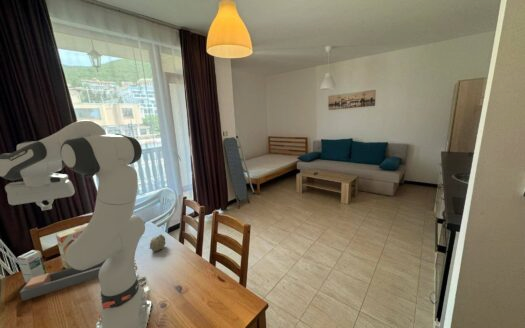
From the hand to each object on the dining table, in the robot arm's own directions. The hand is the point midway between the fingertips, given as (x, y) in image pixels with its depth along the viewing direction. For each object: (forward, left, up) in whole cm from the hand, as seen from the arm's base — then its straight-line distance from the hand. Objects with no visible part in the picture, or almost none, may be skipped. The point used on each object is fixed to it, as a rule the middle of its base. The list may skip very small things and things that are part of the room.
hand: (47, 209), depth 91 cm
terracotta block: (+3, +10, -38) cm, 39 cm away
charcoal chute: (+3, -2, -39) cm, 39 cm away
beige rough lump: (+8, -40, -39) cm, 57 cm away
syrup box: (+14, +15, -39) cm, 44 cm away
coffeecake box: (+20, -2, -39) cm, 44 cm away
